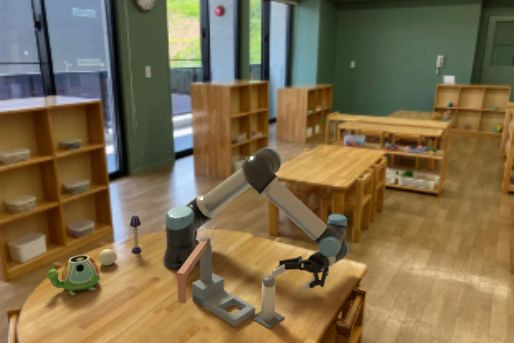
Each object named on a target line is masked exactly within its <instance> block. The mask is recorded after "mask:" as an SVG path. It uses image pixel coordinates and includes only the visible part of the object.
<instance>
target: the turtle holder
mask: <svg viewBox="0 0 514 343" xmlns="http://www.w3.org/2000/svg"><path fill="white" fill-rule="evenodd" d="M100 272H101V271H100V269H99V266H98V264H97V262H96V261H95V260H94V259H93V258H92V257H90V256H89V255H88V254H79V255H75V256H72V257H70V258H69V260H67V262H66V263H65V265H64V266H63V268H62V271H61V276H60V279H59V272H58V270H57V269H56V268H52V269H50V270H49V271H48V272H47V275H46V278H47V279H49V280H50V283H51V284H52V286H53V287H54V288H57V289H65V290H68V293H69V295H70V296H76V295H77V293H76V292H75V291H80V290H85V289H86V290H87V291H89V292H93V291H96V287H94V286H95V285H96V284H97V283H99V281H100V280H101V276H100ZM60 280H61V281H60Z"/></svg>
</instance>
